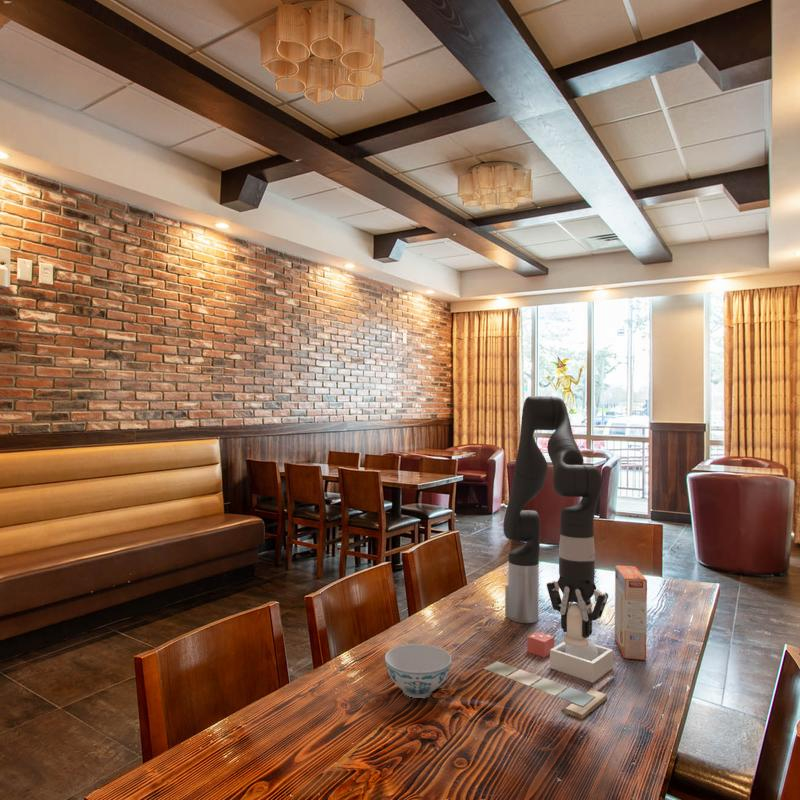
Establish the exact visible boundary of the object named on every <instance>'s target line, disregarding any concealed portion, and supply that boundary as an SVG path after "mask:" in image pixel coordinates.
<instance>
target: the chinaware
mask: <svg viewBox="0 0 800 800" xmlns="http://www.w3.org/2000/svg"><path fill="white" fill-rule="evenodd" d="M384 661H385V666H386V670H387V672H388V675H389V677H390V678H391V680H392V681H393V683H394V684H395V685H396V686H397V687H398V689H401V690H402V692H403V694H404V695H405V696H406V695H407V696H406V697H408V696H409V697H408V698H410V697H413V698H412V699H414V698H423V699H427V698H429V697H431V696H432V695H433V693H434V692H433V691H436V689H438V688H439V687H440V686H441V685H442V684H443V683H444V681H446V678H447V677H448V674H449V672H450V669H451V664H452V656H451V655H450V653H449V652H448V651H446V650H445V649H443V648H441V647H439V646H434V645H430V644H425V643H423V644H422V643H412V644H411V643H410V644H409V643H408V644H402V645H398V646H395V647H393V648H391V649H389V650H388V651H386V652H385V655H384ZM430 695H431V696H430ZM426 697H427V698H426Z"/></svg>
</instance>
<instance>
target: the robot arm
mask: <svg viewBox="0 0 800 800" xmlns="http://www.w3.org/2000/svg"><path fill="white" fill-rule="evenodd" d="M535 431H553V432H552V434H551V435H550V437H549V439H548V442H547V446H546V447H547V448H546V449H547V453H548V457H549V458H550V461H551V463H552V466H553V467H552V468H553V471H552V473H553V474H552V488H553V490H554V492H555V493H557V495H560V496H561V497H565V498H566V497H567V498H568V497H569V498H570V497H571V498H573V497H575V498H576V497H577V498H581V500H580V501H579V502H578V504H575V505H573V506H567V507H564V508H562V509H561V511H560V518H559V519H560V520H559V521H560V523H559V524H560V526H559V527H560V530H559V531H560V533H559V535H560V536H559V543H558V550H559V551H558V575H559V578H558V580H557V581H556V580H553V581H549V582H547V583H546V589H547V593H548V596H549V600H550V602H551V606H552V609H553V610H554V611H557V612H559V614H560V627H561V630H562V631H563V633H567V612H568V608H569V606H570V605H571V604H574V603H577V604H579V607H580V610H581V611H582V615H583V619H584V620H583V621H582V637H583V638H589V637H590V636H591V635H592V633H593V621H597V620H598V619H601V617H602V616H603V613H604V610H605V607H606V604H607V601H608V599H609V594H608V593H607V592H601V591H600V590H599V589H597V586H596V584H595V576H596V575H595V573H596V571H595V569H596V567H595V566H596V565H595V560H596V559H595V558H596V549H595V547H596V546H595V539H594V537H595V536H594V523H595V522H594V519H595V513H596V508H597V504H598V500H599V497H600V494H601V491H602V487H603V476H602V473H601V471H600V469H599V468H598V467H597V466H595V465H592V464H584V462H585V461H584V456H583V454H582V453H581V449H580V448H579V447H578V444H577V442H576V440H575V438H574V434H573V433H574V432H573V430H572V423H571V420H570V417H569V412H568V409H567V405H566V403H565V401H564V400H563V399H562V398H561V397H559V396H551V395H549V396H548V395H545V396H544V395H542V396H541V395H531V396H528V397H526V398H525V400H524V402H523V406H522V413H521V424H520V435H519V443H518V449H517V454H516V459H515V464H514V469H513V474H512V481H511V482H512V484H511V488H510V495H509V500H508V502H507V507H506V511H505V514H504V518H503V526H502V527H503V528H502V529H503V535H504V536H505V538H506V539H507V540H510V541H526V542H525V543H524V544H523V545H521V546H519V547H518V548H515V549H512V550H511V551H509V553H508V555H507V556H508V557H507V558H508V559H507V561H508V566H507V567H508V568H507V569H508V570H507V571H508V575H507V577H508V580H507V585H505V593H504V594H505V595H504V596H505V597H504V598H505V600H504V602H505V603H504V604H505V605H504V607H505V609H504V610H505V611H504V617H505V616H506V617H505V618H508V620H510V621H512V622H515V623H519V624H533V623H536V622H538V621H539V613H540V612H539V608H540V607H539V606H540V605H539V603H540V602H539V601H540V600H539V599H540V598H539V593H540V591H539V586H540V584H539V583H540V578H539V577H540V575H539V574H540V573H539V571H540V569H539V568H540V566H539V564H540V563H539V562H540V559H539V558H540V542H541V541H540V540H541V517H540V514H539V513H538V512H537V510H533V509H527V510H526V509H523V508H525V506H526V505H527V504H528V503H529V502H530V501H532V500H533V499H534V498H535V497H536V496H538V494H539V493H540V492H541V491H542V489H543V488H544V486H545V482H546V478H547V473H548V468H549V467H548V461H547V459H546V458H545V455H544V454H543V452H542V451H541V449H540V447H539V446H538V444H537V441H536V439H535V436H534V433H535ZM560 591H561V592H562V594H563V595H562V598H561V593H560ZM593 596H594V601H595V605H594V608H593V604H592V599H591V598H592V597H593Z"/></svg>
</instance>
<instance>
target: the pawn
mask: <svg viewBox="0 0 800 800" xmlns="http://www.w3.org/2000/svg"><path fill="white" fill-rule="evenodd" d="M583 620H584V619H583V615H582V611H581V610H580V607H579V604H578V603H576V602H573V603H572V604H571V605H570V606H569V608H568V612H567V633H566V632H564V634H563V642H565V643H566V644H568V645H570V646H574V647H585V646H588V644H589V641H590V640H589V637H588V638H583V637H582V621H583Z"/></svg>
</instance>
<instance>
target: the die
mask: <svg viewBox="0 0 800 800" xmlns="http://www.w3.org/2000/svg"><path fill="white" fill-rule="evenodd" d="M526 637H527V638H526V641H527V642H526V645H527V649H526V650H527V651H526V652H527V653H530V654H533V655H536V656H539V657H543V658H546V657H548V656H550V650H551V649H552V648H554V647H555V636H554V635H549V634H546V633H543V632H540V631H536V632H534V633H532V634H530V635H528V636H526Z"/></svg>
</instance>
